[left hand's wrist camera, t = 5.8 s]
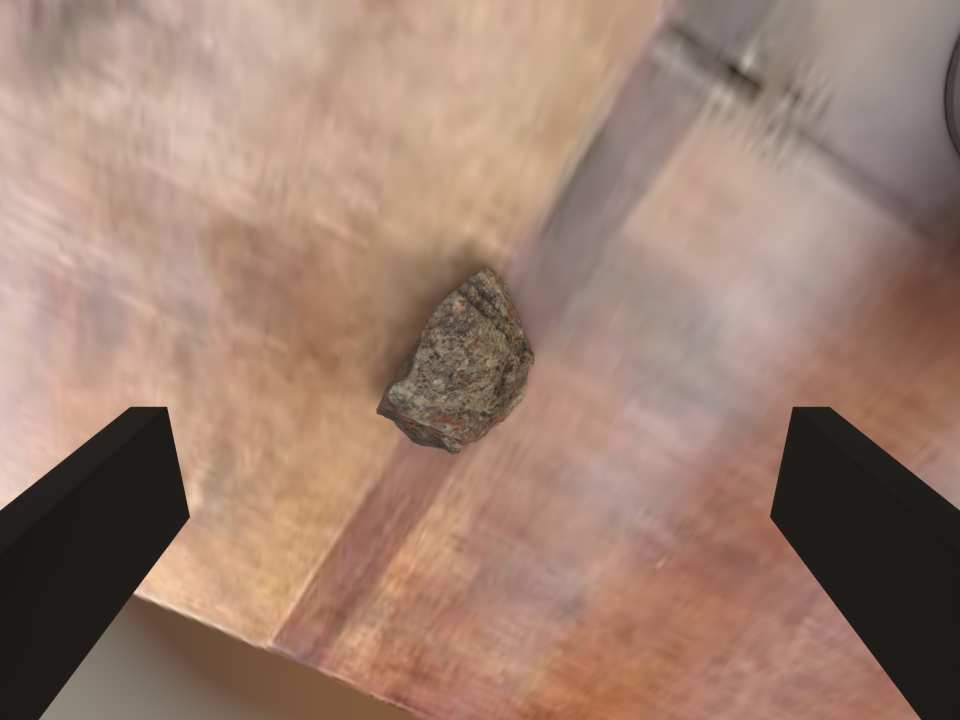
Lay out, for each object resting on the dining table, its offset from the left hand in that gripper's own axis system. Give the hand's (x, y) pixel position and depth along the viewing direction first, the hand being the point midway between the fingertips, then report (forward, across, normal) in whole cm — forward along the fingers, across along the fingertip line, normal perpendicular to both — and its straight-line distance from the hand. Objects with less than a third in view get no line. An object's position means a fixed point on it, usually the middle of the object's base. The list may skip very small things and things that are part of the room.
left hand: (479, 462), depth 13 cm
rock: (+30, -1, -9) cm, 31 cm away
